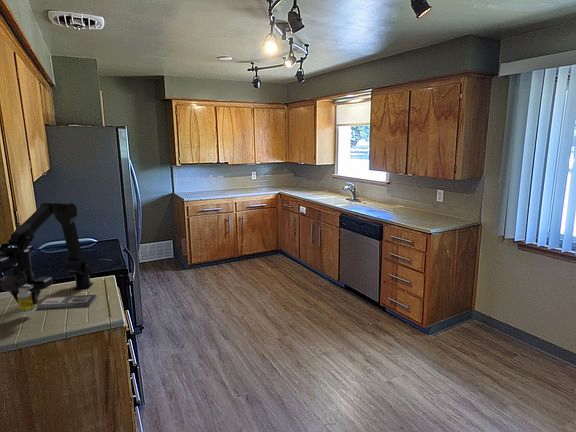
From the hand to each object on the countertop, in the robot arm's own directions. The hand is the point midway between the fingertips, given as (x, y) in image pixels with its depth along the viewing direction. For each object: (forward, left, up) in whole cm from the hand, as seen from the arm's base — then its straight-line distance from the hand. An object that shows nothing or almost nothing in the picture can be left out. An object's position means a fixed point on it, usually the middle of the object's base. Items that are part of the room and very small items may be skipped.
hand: (27, 304), depth 142 cm
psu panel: (-11, +9, -5) cm, 15 cm away
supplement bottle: (0, 0, -3) cm, 3 cm away
